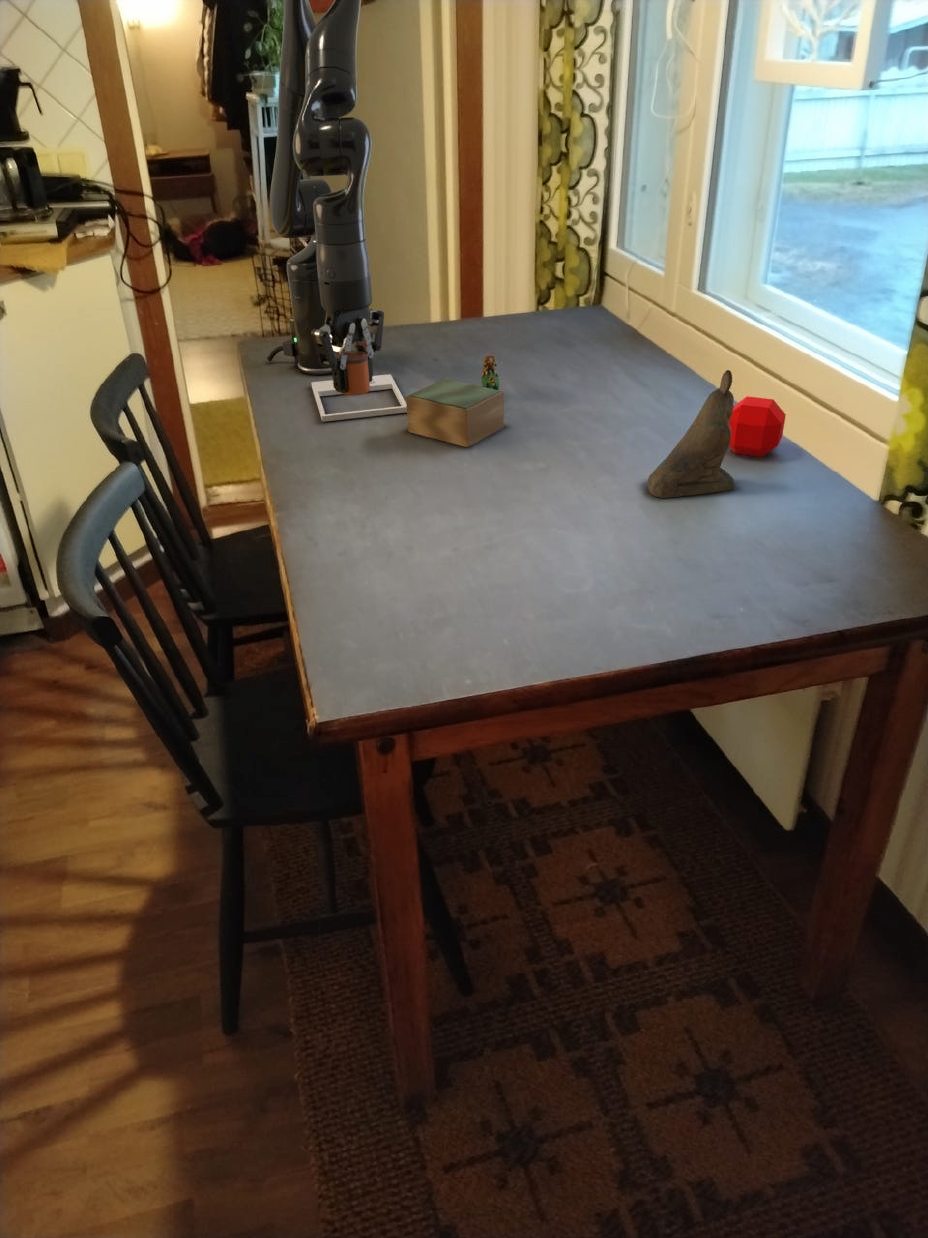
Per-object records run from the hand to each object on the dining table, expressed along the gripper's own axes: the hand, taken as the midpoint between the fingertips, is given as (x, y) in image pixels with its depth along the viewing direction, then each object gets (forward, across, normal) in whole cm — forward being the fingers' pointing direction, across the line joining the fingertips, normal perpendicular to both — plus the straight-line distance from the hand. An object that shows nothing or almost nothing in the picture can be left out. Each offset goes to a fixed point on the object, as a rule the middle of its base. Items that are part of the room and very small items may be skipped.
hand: (354, 386), depth 148 cm
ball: (+9, -29, +53) cm, 61 cm away
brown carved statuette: (+9, -12, +51) cm, 53 cm away
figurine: (+9, -26, +7) cm, 29 cm away
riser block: (+9, -12, +10) cm, 18 cm away
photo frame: (+9, -14, -13) cm, 21 cm away
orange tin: (+1, 0, 0) cm, 1 cm away
